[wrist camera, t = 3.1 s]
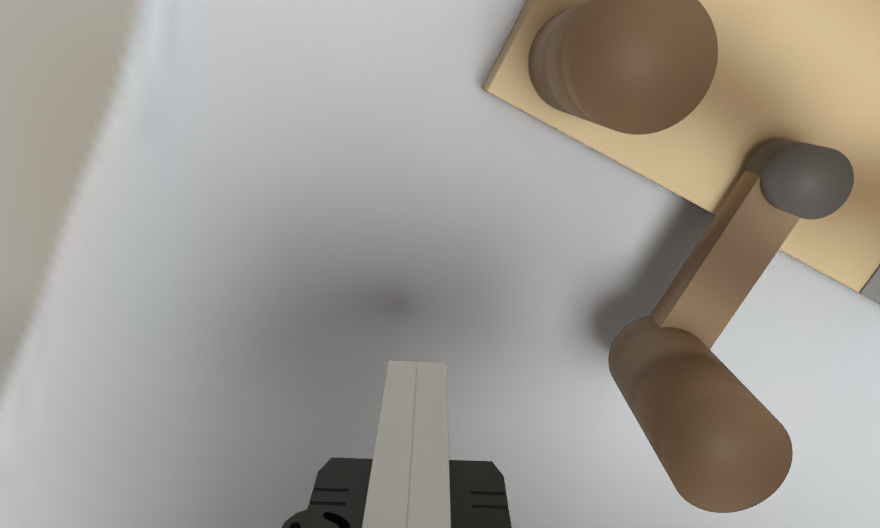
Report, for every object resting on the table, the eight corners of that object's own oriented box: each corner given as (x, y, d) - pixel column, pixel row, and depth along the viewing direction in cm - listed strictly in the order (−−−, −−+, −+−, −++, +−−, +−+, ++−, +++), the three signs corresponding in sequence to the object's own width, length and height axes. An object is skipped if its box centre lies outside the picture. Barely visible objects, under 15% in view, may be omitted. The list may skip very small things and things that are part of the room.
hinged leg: (666, 411, 23) (746, 529, 17) (591, 375, 22) (646, 484, 16) (836, 165, 20) (996, 205, 14) (756, 119, 20) (888, 141, 14)
